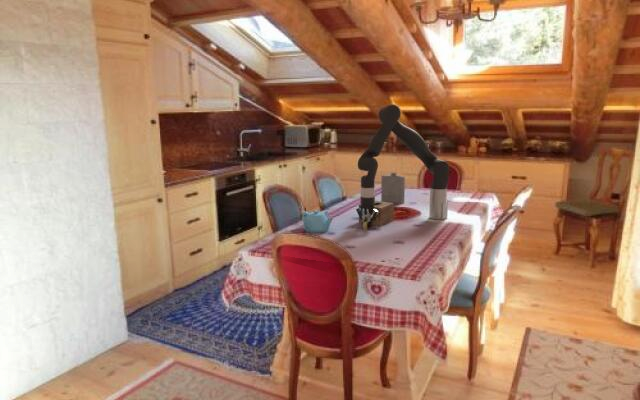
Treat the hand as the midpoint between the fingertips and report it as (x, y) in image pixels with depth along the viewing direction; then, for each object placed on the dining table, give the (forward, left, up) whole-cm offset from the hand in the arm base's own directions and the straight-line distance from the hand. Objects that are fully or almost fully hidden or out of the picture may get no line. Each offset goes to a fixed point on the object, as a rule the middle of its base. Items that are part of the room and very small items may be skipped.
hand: (367, 227), depth 254 cm
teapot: (+20, +18, -1) cm, 27 cm away
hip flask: (+22, -64, -1) cm, 68 cm away
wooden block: (0, 0, -1) cm, 1 cm away
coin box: (+4, -15, -1) cm, 16 cm away
